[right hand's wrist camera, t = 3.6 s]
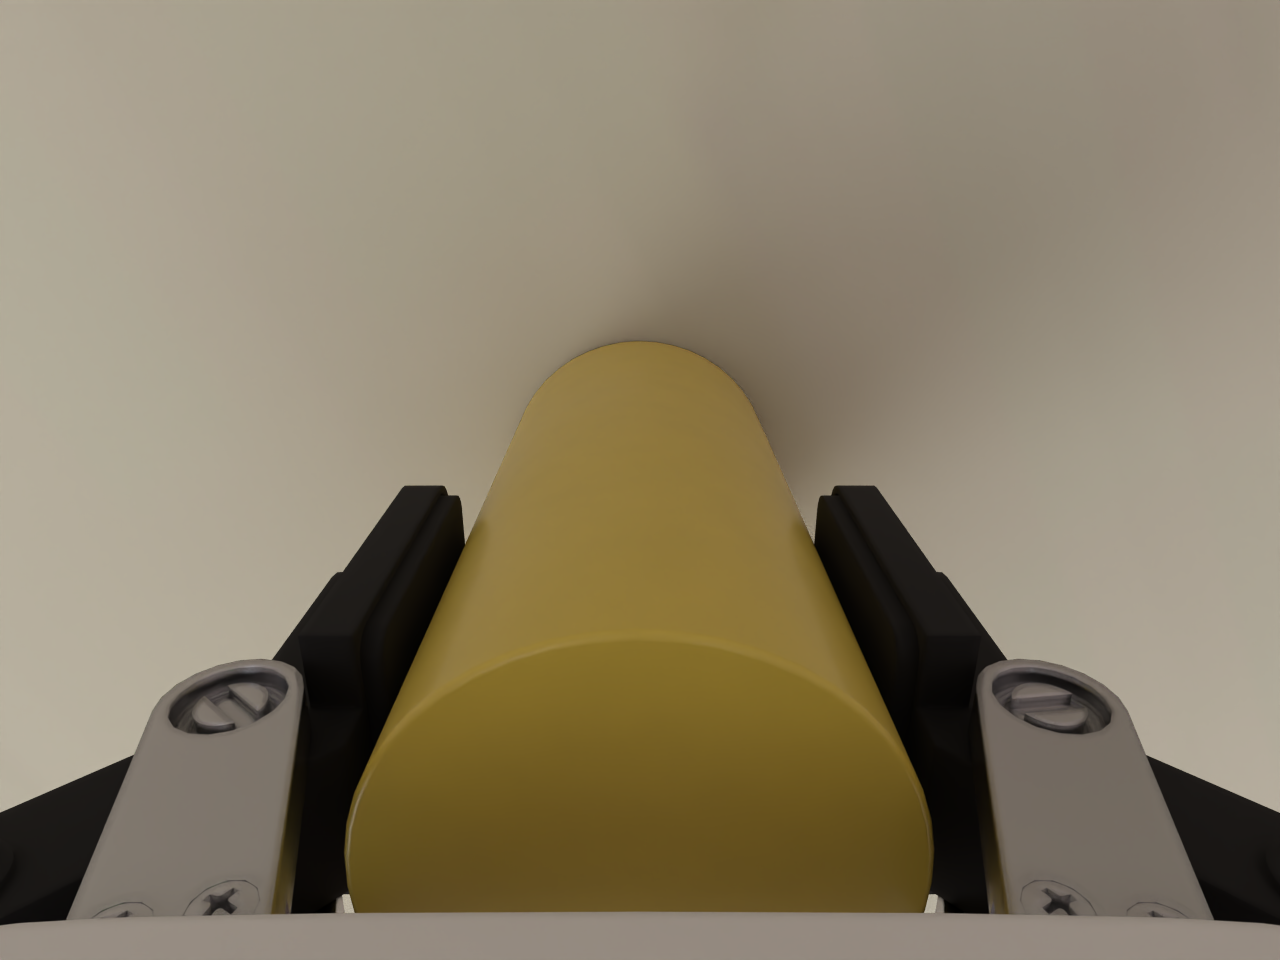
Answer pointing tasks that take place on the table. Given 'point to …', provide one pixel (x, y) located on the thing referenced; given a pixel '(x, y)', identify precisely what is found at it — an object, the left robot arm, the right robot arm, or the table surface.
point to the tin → (639, 683)
